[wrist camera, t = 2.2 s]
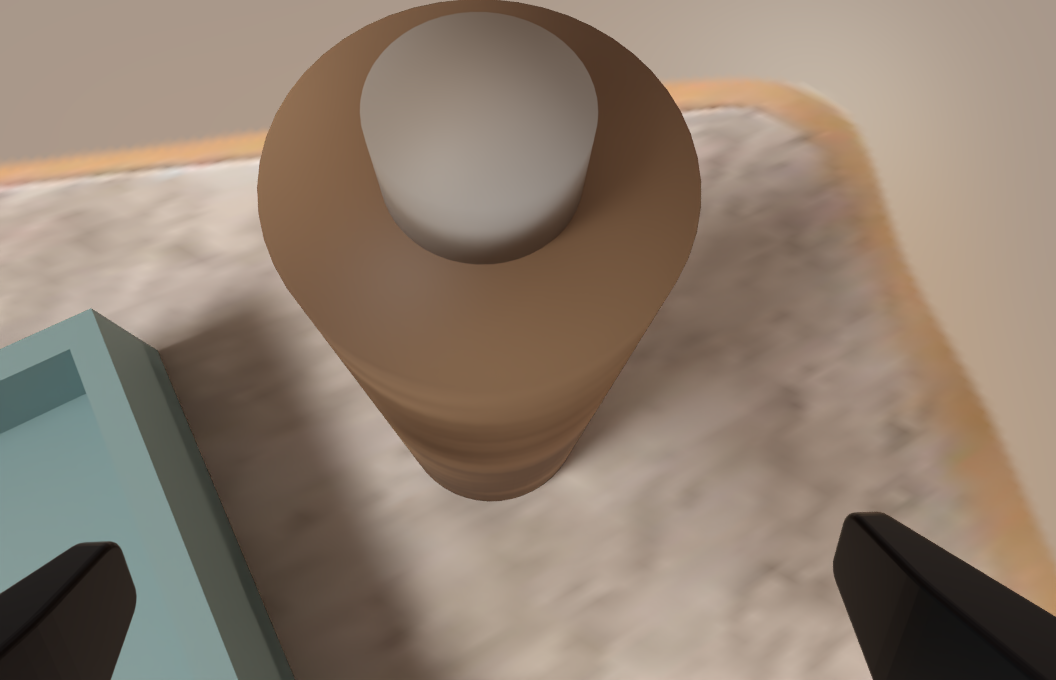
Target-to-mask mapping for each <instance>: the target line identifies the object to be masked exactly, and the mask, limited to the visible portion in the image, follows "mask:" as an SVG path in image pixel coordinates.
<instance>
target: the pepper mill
mask: <svg viewBox="0 0 1056 680" xmlns="http://www.w3.org/2000/svg"><path fill="white" fill-rule="evenodd" d="M257 193H258V212H259V218H260V223H261V227H262V232H263V237H264V241H265V243H266V246H267V249H268V251H269V254H270V256H271V259H272V262H273V264H274V266H275V268H276V270H277V272H278V273H279V275H280V277H281V279H282V280H283V282H284V284H285V286H286V288H287V289H288V290H289V292H290V293H291V294H292V296H293V297H294V298H295V300H296V301H297V302H298V304H299V305H300V306H301V308H302V309H303V310H304V312H305V313H306V314H307V316H308V317H309V318H310V320H311V321H312V322H313V324H314V325H315V326H316V327H317V329H318V330H319V331H320V333H321V334H322V335H323V337H324V338H325V339H326V341H327V342H328V343H329V345H330V346H331V347H332V349H333V350H334V351H335V353H336V354H337V355H338V357H339V358H340V359H341V361H342V362H343V363H344V364H345V366H346V367H347V368H348V370H349V371H350V372H351V374H352V375H353V376H354V378H355V379H356V380H357V382H358V383H359V384H360V386H361V387H362V388H363V390H364V391H365V392H366V394H367V395H368V396H369V398H370V399H371V400H372V401H373V403H374V404H375V405H376V407H377V408H378V409H379V411H380V412H381V413H382V415H383V416H384V417H385V419H386V420H387V421H388V423H389V424H390V425H391V427H392V428H393V429H394V431H395V432H396V433H397V435H398V436H399V437H400V439H401V440H402V441H403V442H404V444H405V445H406V446H407V448H408V449H409V450H410V452H411V453H412V454H413V456H414V457H415V458H416V460H417V461H418V462H419V464H420V465H421V466H422V467H423V469H424V470H425V471H426V473H427V474H428V475H429V476H430V477H431V478H433V479H434V480H435V481H436V482H437V483H439V484H440V485H441V486H443V487H444V488H446V489H448V490H449V491H451V492H453V493H455V494H458V495H460V496H463V497H466V498H470V499H474V500H480V501H502V500H508V499H513V498H516V497H519V496H522V495H525V494H527V493H529V492H531V491H533V490H535V489H537V488H538V487H540V486H541V485H543V484H544V483H545V482H547V481H548V480H549V479H550V478H551V477H552V476H553V475H554V474H555V473H556V472H557V471H558V470H559V469H560V467H561V466H562V464H563V463H564V462H565V460H566V459H567V457H568V455H569V454H570V452H571V451H572V449H573V447H574V446H575V444H576V443H577V441H578V439H579V438H580V436H581V434H582V433H583V431H584V430H585V428H586V426H587V425H588V423H589V422H590V420H591V418H592V417H593V415H594V414H595V412H596V410H597V409H598V407H599V406H600V404H601V402H602V401H603V399H604V397H605V396H606V394H607V393H608V391H609V389H610V388H611V386H612V385H613V383H614V381H615V380H616V378H617V377H618V375H619V373H620V372H621V370H622V369H623V367H624V365H625V364H626V362H627V361H628V359H629V357H630V356H631V354H632V352H633V351H634V349H635V348H636V346H637V344H638V343H639V341H640V340H641V338H642V336H643V335H644V333H645V332H646V330H647V328H648V327H649V325H650V324H651V322H652V320H653V319H654V317H655V315H656V314H657V312H658V311H659V309H660V307H661V306H662V304H663V303H664V301H665V299H666V298H667V296H668V295H669V293H670V291H671V290H672V288H673V287H674V285H675V283H676V282H677V280H678V278H679V276H680V274H681V272H682V270H683V268H684V266H685V264H686V262H687V260H688V258H689V255H690V252H691V249H692V246H693V242H694V239H695V236H696V233H697V228H698V221H699V215H700V209H701V178H700V171H699V164H698V157H697V154H696V150H695V147H694V143H693V140H692V137H691V133H690V131H689V129H688V127H687V124H686V122H685V120H684V118H683V116H682V113H681V111H680V110H679V108H678V106H677V105H676V103H675V102H674V100H673V98H672V97H671V95H670V94H669V92H668V90H667V89H666V88H665V87H664V86H663V84H662V83H661V82H660V81H659V79H658V78H657V77H656V76H655V75H654V73H653V72H652V71H651V70H650V69H649V68H648V67H647V66H646V65H645V64H644V63H643V62H641V60H639V59H638V58H637V57H636V56H635V55H634V54H633V53H632V52H630V51H629V50H628V49H626V48H625V47H623V46H622V45H621V44H620V43H618V42H617V41H615V40H614V39H613V38H611V37H609V36H608V35H606V34H604V33H603V32H601V31H599V30H597V29H596V28H594V27H592V26H590V25H588V24H586V23H583V22H581V21H579V20H577V19H575V18H572V17H570V16H568V15H565V14H562V13H558V12H555V11H552V10H549V9H546V8H543V7H538V6H533V5H528V4H524V3H519V2H510V1H501V0H457V1H447V2H438V3H434V4H429V5H424V6H420V7H414V8H411V9H408V10H405V11H402V12H399V13H396V14H392V15H389V16H387V17H385V18H383V19H380V20H378V21H376V22H374V23H371V24H369V25H367V26H365V27H363V28H361V29H360V30H358V31H356V32H355V33H353V34H351V35H350V36H348V37H346V38H344V39H343V40H342V41H340V42H339V43H338V44H336V45H335V46H334V47H332V48H331V49H330V50H329V51H327V52H326V53H325V54H323V55H322V56H321V57H320V58H319V59H318V60H317V61H316V62H315V63H314V64H313V65H312V66H311V67H310V68H309V69H308V70H307V71H306V72H305V73H304V74H303V75H302V76H301V78H300V79H299V80H298V81H297V83H296V84H295V85H294V87H293V88H292V89H291V90H290V92H289V93H288V95H287V96H286V98H285V100H284V102H283V103H282V105H281V106H280V108H279V110H278V111H277V113H276V115H275V118H274V120H273V122H272V125H271V127H270V129H269V132H268V134H267V136H266V140H265V144H264V148H263V151H262V155H261V159H260V165H259V175H258V185H257Z"/></svg>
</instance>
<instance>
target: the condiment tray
mask: <svg viewBox="0 0 1056 680" xmlns="http://www.w3.org/2000/svg"><path fill="white" fill-rule="evenodd" d="M100 541H111V542H115V543H117V544H118V545H119V546H120V547H121V549H122V552H123V554H124V557H125V560H126V563H127V566H128V568H129V571H130V574H131V577H132V580H133V582H134V585H135V588H136V594H137V601H136V608H135V611H134V615H133V618H132V620H131V623H130V626H129V629H128V632H127V635H126V638H125V641H124V643H123V646H122V649H121V652H120V655H119V658H118V661H117V664H116V666H115V669H114V672H113V675H112V678H111V680H295V679H294V676H293V674H292V671H291V669H290V667H289V664H288V662H287V659H286V657H285V655H284V652H283V650H282V647H281V645H280V643H279V640H278V638H277V635H276V633H275V631H274V628H273V626H272V624H271V621H270V619H269V616H268V614H267V612H266V609H265V607H264V604H263V602H262V600H261V597H260V595H259V592H258V590H257V588H256V585H255V583H254V580H253V578H252V576H251V573H250V571H249V569H248V566H247V564H246V561H245V559H244V557H243V554H242V552H241V549H240V547H239V545H238V542H237V540H236V537H235V535H234V533H233V530H232V528H231V525H230V523H229V521H228V518H227V516H226V514H225V511H224V509H223V506H222V504H221V502H220V499H219V497H218V494H217V492H216V490H215V487H214V485H213V482H212V480H211V478H210V475H209V473H208V470H207V468H206V466H205V463H204V461H203V459H202V456H201V454H200V451H199V449H198V447H197V444H196V442H195V439H194V437H193V435H192V432H191V430H190V427H189V425H188V423H187V420H186V418H185V416H184V413H183V411H182V408H181V406H180V404H179V401H178V399H177V396H176V394H175V392H174V389H173V387H172V384H171V382H170V380H169V377H168V375H167V372H166V370H165V368H164V365H163V363H162V361H161V358H160V356H159V353H158V351H157V350H156V349H154V348H153V347H151V346H149V345H148V344H146V343H145V342H143V341H142V340H140V339H138V338H137V337H135V336H134V335H132V334H131V333H129V332H127V331H126V330H124V329H123V328H121V327H120V326H118V325H116V324H115V323H113V322H112V321H110V320H109V319H107V318H106V317H104V316H102V315H101V314H99V313H98V312H96V311H95V310H93V309H89V310H86V311H84V312H82V313H80V314H78V315H75V316H73V317H71V318H69V319H66V320H64V321H62V322H60V323H57V324H55V325H53V326H51V327H49V328H46V329H44V330H42V331H40V332H37V333H35V334H33V335H31V336H28V337H26V338H24V339H22V340H20V341H17V342H15V343H13V344H11V345H8V346H6V347H4V348H2V349H0V593H2V592H3V591H5V590H6V589H8V588H9V587H11V586H12V585H14V584H16V583H17V582H19V581H20V580H22V579H23V578H25V577H26V576H28V575H29V574H31V573H32V572H34V571H35V570H37V569H38V568H40V567H42V566H43V565H45V564H46V563H48V562H49V561H51V560H52V559H54V558H55V557H57V556H58V555H60V554H61V553H63V552H65V551H66V550H68V549H69V548H71V547H72V546H74V545H76V544H78V543H83V542H100Z"/></svg>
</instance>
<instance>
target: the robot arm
mask: <svg viewBox="0 0 1056 680" xmlns="http://www.w3.org/2000/svg"><path fill="white" fill-rule="evenodd" d="M833 573H834V577H835V581H836V584H837V586H838V589H839V591H840V594H841V597H842V599H843V602H844V605H845V607H846V610H847V613H848V615H849V618H850V621H851V623H852V626H853V628H854V631H855V634H856V636H857V639H858V642H859V644H860V647H861V650H862V652H863V655H864V658H865V660H866V663H867V665H868V668H869V671H870V673H871V676H872V679H873V680H1056V617H1055V616H1053V615H1052V614H1050V613H1048V612H1047V611H1045V610H1044V609H1042V608H1040V607H1039V606H1037V605H1035V604H1034V603H1032V602H1030V601H1029V600H1027V599H1025V598H1024V597H1022V596H1020V595H1019V594H1017V593H1015V592H1014V591H1012V590H1010V589H1009V588H1007V587H1006V586H1004V585H1002V584H1001V583H999V582H997V581H996V580H994V579H992V578H991V577H989V576H987V575H986V574H984V573H982V572H981V571H979V570H977V569H976V568H974V567H972V566H971V565H969V564H968V563H966V562H964V561H963V560H961V559H959V558H958V557H956V556H954V555H953V554H951V553H949V552H948V551H946V550H944V549H943V548H941V547H939V546H938V545H936V544H935V543H933V542H931V541H930V540H928V539H926V538H925V537H923V536H921V535H920V534H918V533H916V532H915V531H913V530H911V529H910V528H908V527H906V526H905V525H903V524H901V523H900V522H898V521H897V520H895V519H893V518H892V517H890V516H888V515H886V514H884V513H881V512H857V513H851V514H849V515H848V516H847V517H846V518H845V521H844V523H843V527H842V530H841V534H840V538H839V541H838V545H837V548H836V552H835V556H834V560H833ZM136 601H137V594H136V588H135V585H134V582H133V580H132V577H131V574H130V571H129V568H128V566H127V563H126V560H125V557H124V554H123V552H122V549H121V547H120V546H119V545H118V544H117V543H115V542H111V541H100V542H83V543H78V544H76V545H74V546H72V547H71V548H69V549H68V550H66V551H65V552H63V553H61V554H60V555H58V556H57V557H55V558H54V559H52V560H51V561H49V562H48V563H46V564H45V565H43V566H42V567H40V568H38V569H37V570H35V571H34V572H32V573H31V574H29V575H28V576H26V577H25V578H23V579H22V580H20V581H19V582H17V583H16V584H14V585H12V586H11V587H9V588H8V589H6V590H5V591H3V592H2V593H0V680H111V678H112V675H113V672H114V669H115V666H116V664H117V661H118V658H119V655H120V652H121V649H122V646H123V643H124V641H125V638H126V635H127V632H128V629H129V626H130V623H131V620H132V618H133V615H134V611H135V608H136Z"/></svg>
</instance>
